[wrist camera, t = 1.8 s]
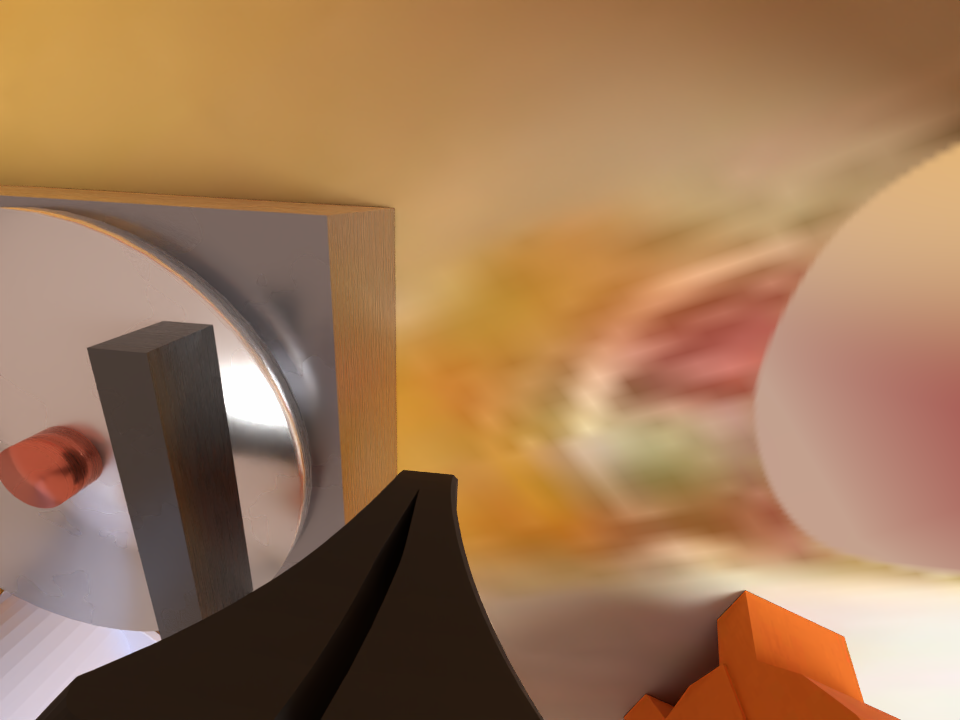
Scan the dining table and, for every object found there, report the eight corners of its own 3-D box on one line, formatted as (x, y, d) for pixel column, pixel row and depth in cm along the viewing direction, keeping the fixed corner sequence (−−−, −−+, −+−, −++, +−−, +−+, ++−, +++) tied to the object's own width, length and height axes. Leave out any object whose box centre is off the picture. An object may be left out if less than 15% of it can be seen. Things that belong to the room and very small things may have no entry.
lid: (-37, 587, 16) (-150, 667, 13) (-209, 191, 11) (-433, 190, 9) (326, 630, 15) (283, 724, 12) (291, 223, 10) (214, 232, 8)
